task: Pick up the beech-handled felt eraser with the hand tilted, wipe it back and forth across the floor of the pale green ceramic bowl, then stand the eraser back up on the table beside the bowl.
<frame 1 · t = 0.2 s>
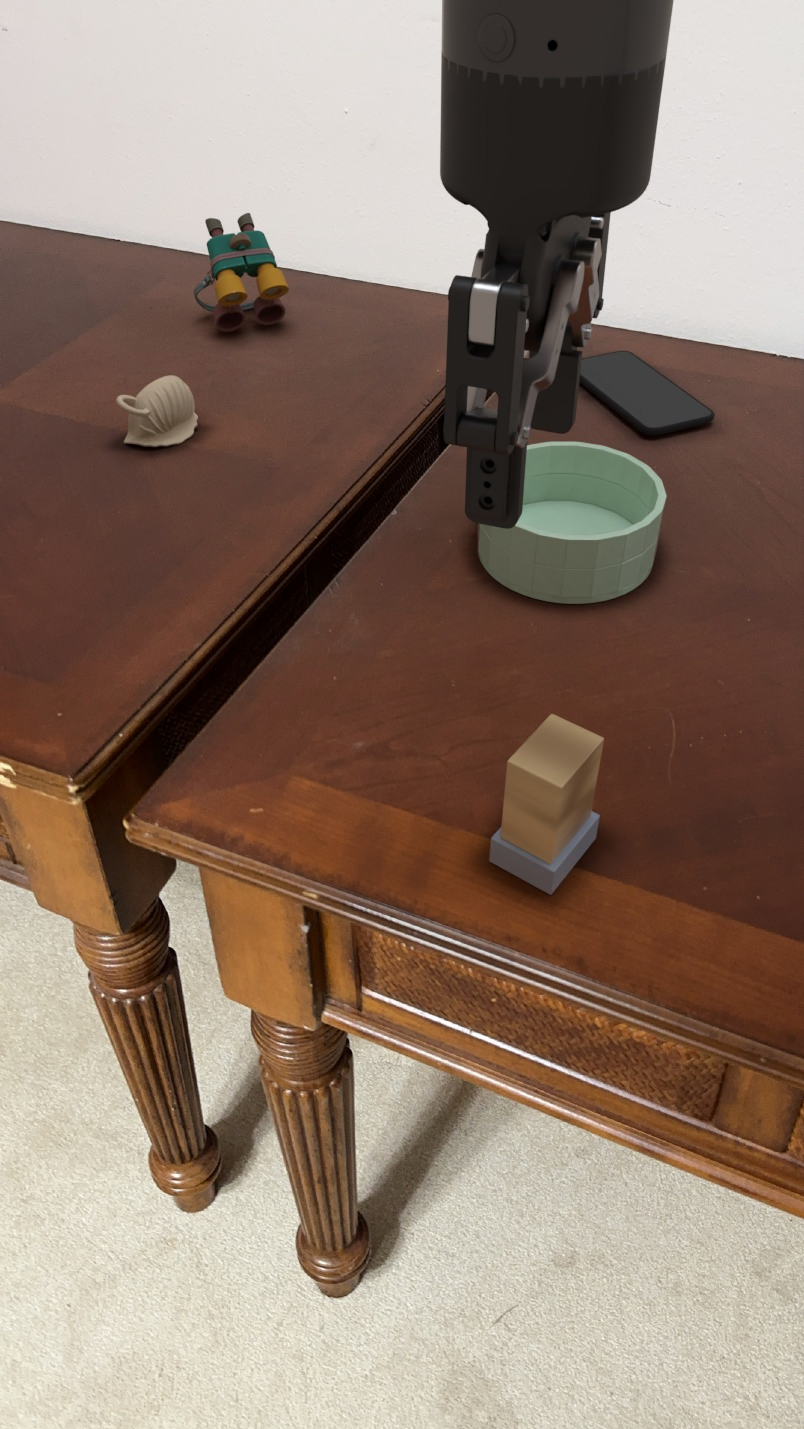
hand: (523, 471, 48), 23 cm above the table, tool pointing down, fingers open, 8 cm apart
bowl: (565, 550, 83), on the table
binoculars: (248, 327, 112), on the table
decorative ornament: (161, 438, 96), on the table
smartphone: (636, 397, 101), on the table
eraser: (543, 849, 62), on the table
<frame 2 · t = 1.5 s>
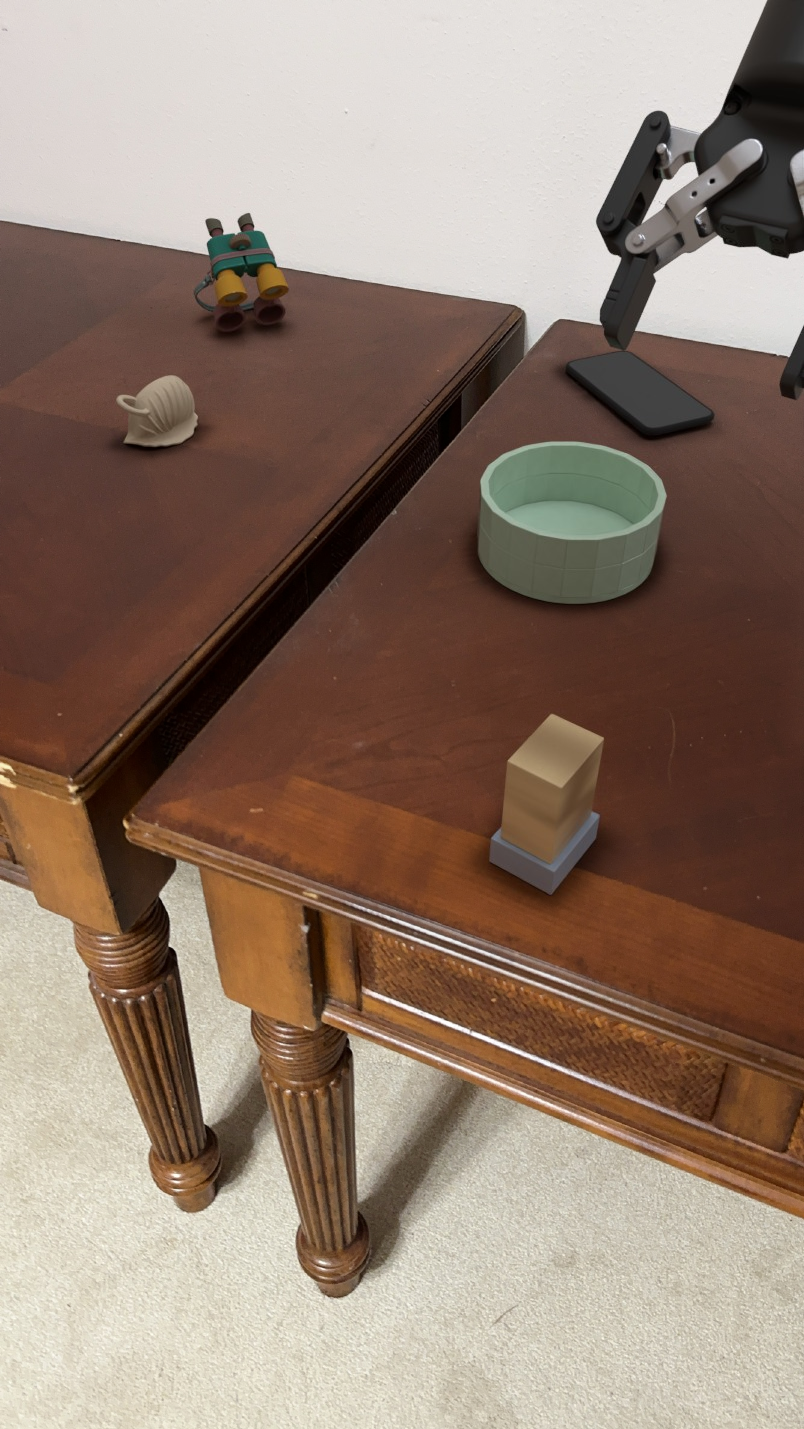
hand: (698, 367, 51), 25 cm above the table, tool tilted 45°, fingers open, 8 cm apart
nothing on the table moved.
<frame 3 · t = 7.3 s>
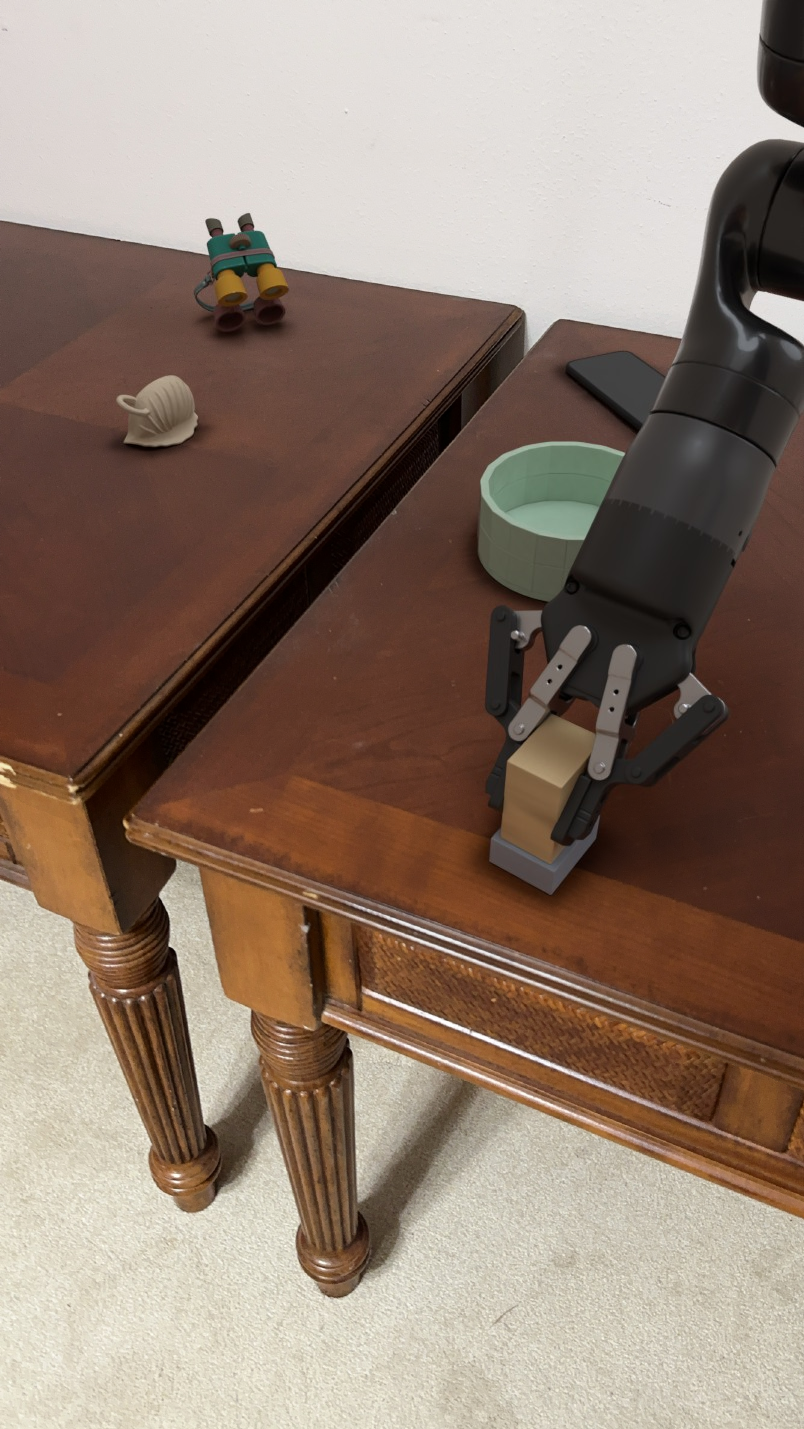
hand: (530, 825, 58), 4 cm above the table, tool tilted 45°, fingers closed on eraser, 3 cm apart
eraser: (543, 850, 62), on the table, touching gripper
everything else where it was.
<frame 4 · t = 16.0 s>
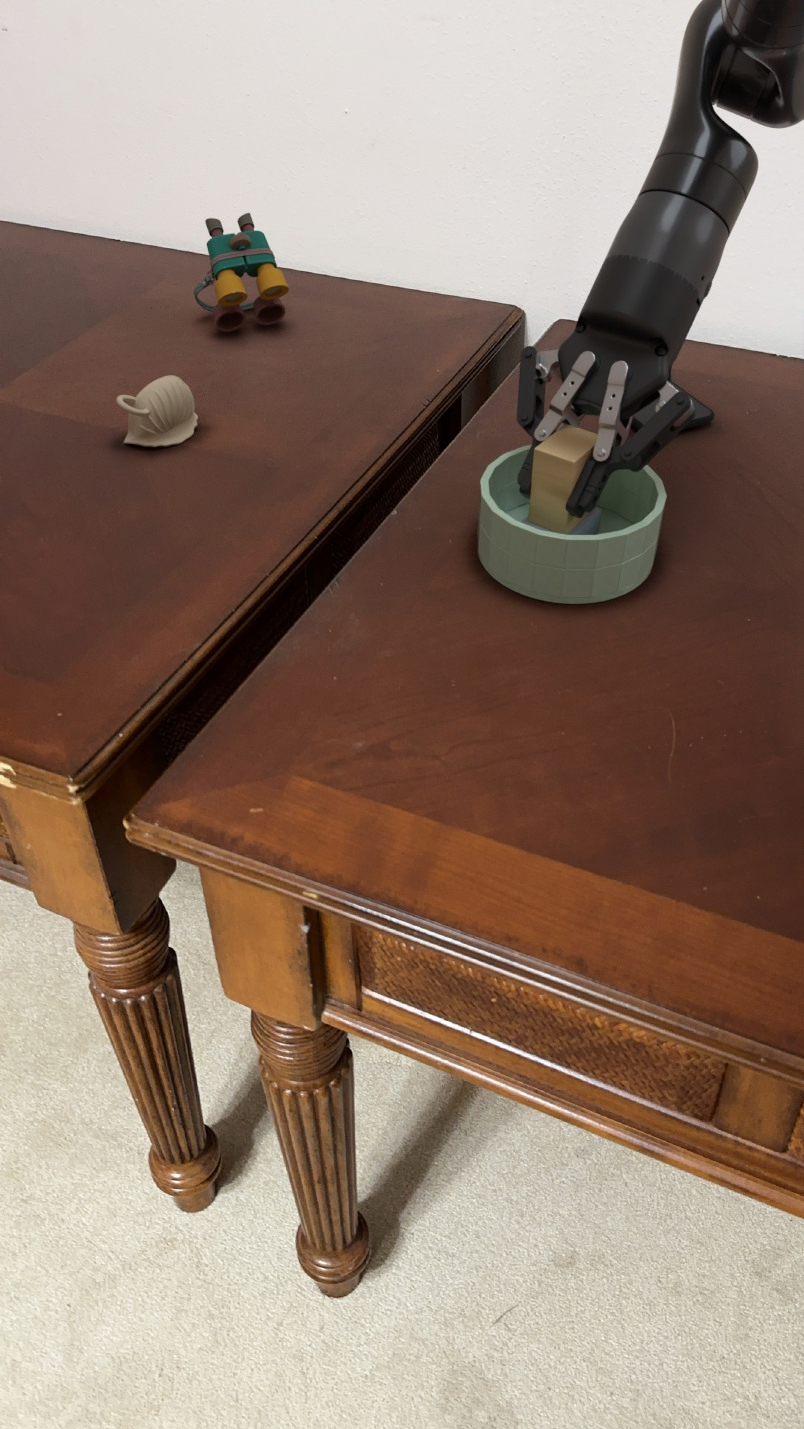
hand: (550, 504, 79), 5 cm above the table, tool tilted 45°, fingers closed on eraser, 3 cm apart
eraser: (559, 538, 82), point 1 cm above the table, touching gripper
everything else where it was.
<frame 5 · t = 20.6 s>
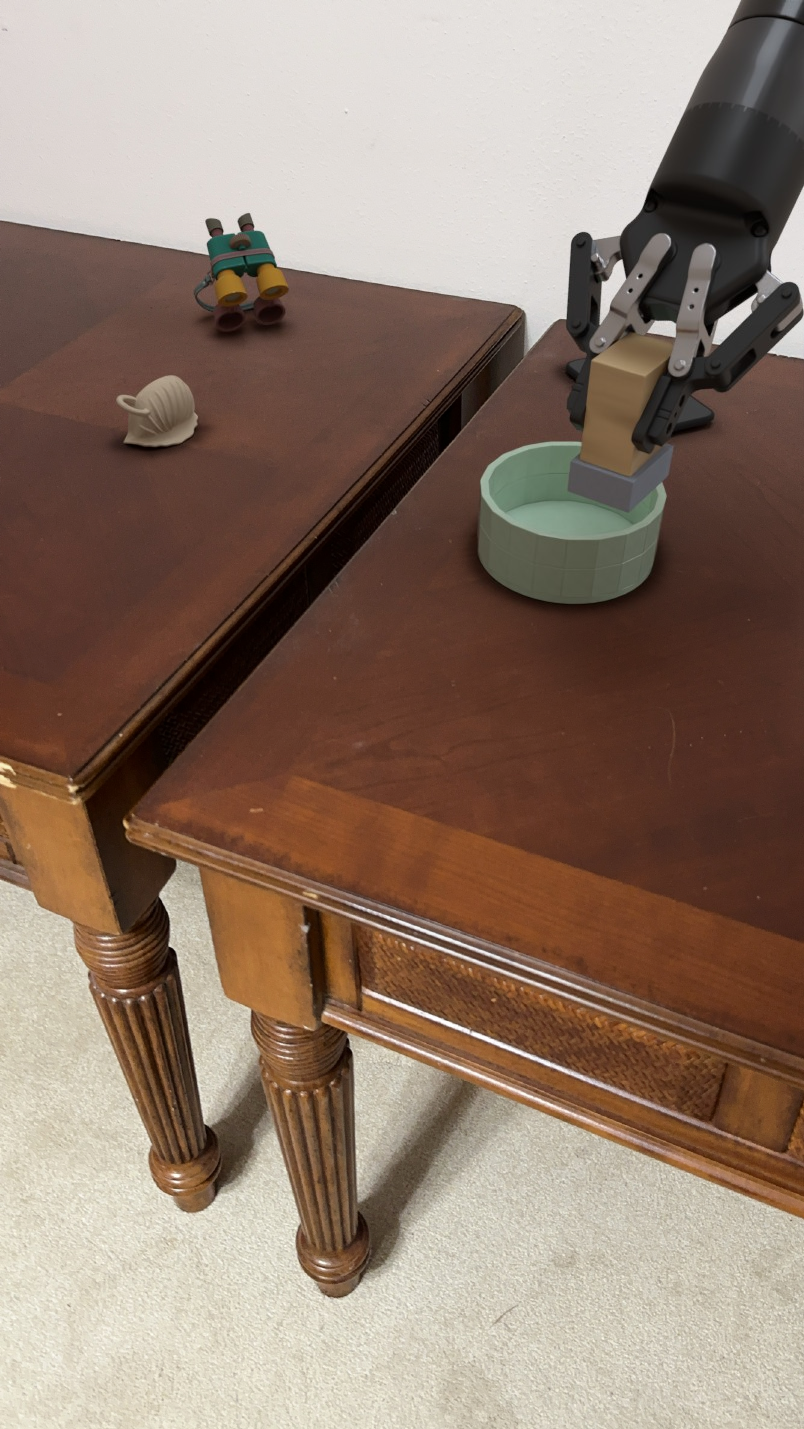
hand: (610, 435, 60), 18 cm above the table, tool tilted 45°, fingers closed on eraser, 3 cm apart
eraser: (618, 483, 64), point 14 cm above the table, touching gripper
everything else where it was.
when the fingers open (4 cm above the table, at t = 24.7 s): eraser stays where it is, on the table.
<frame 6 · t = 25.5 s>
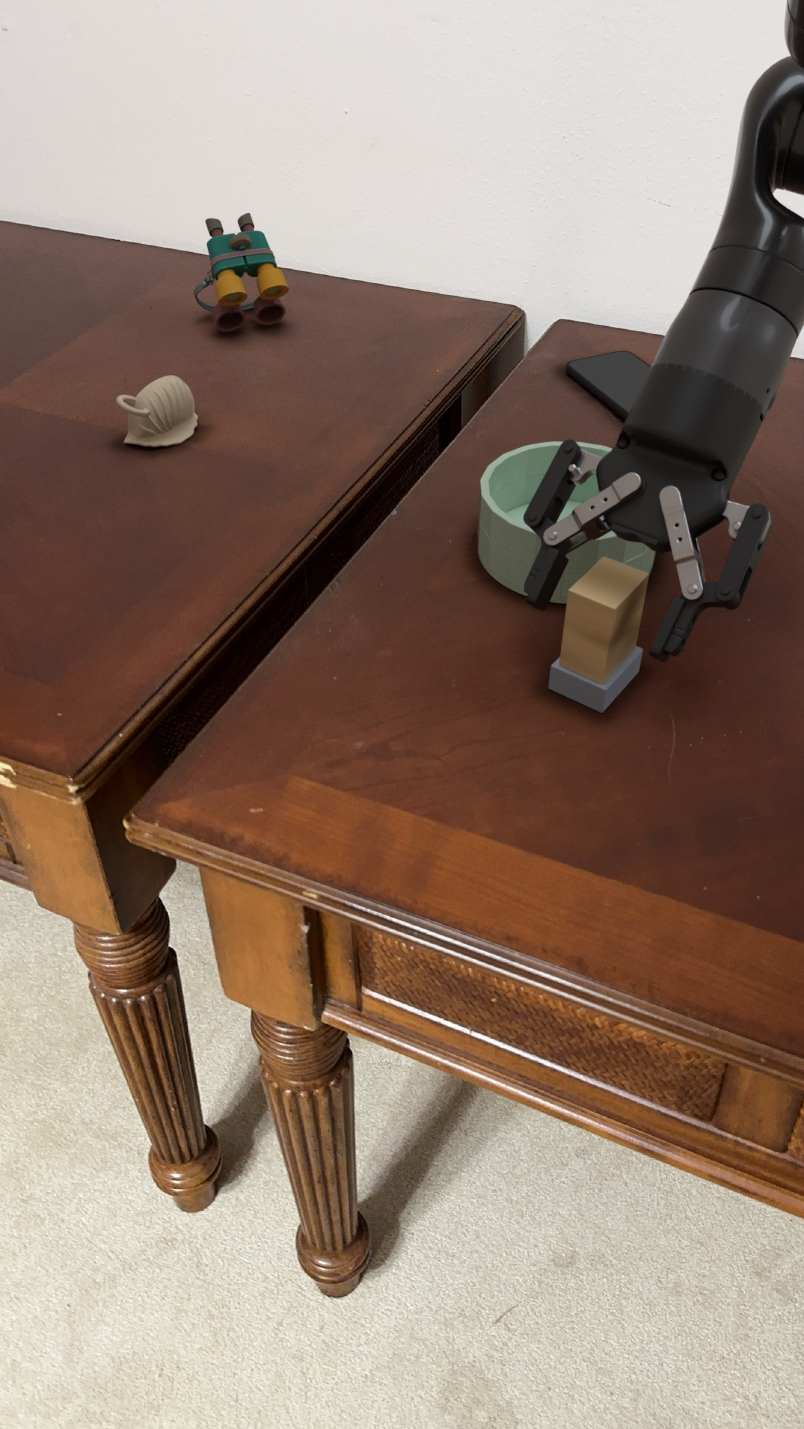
hand: (594, 632, 68), 5 cm above the table, tool tilted 45°, fingers open, 8 cm apart
eraser: (593, 680, 72), on the table
everything else where it was.
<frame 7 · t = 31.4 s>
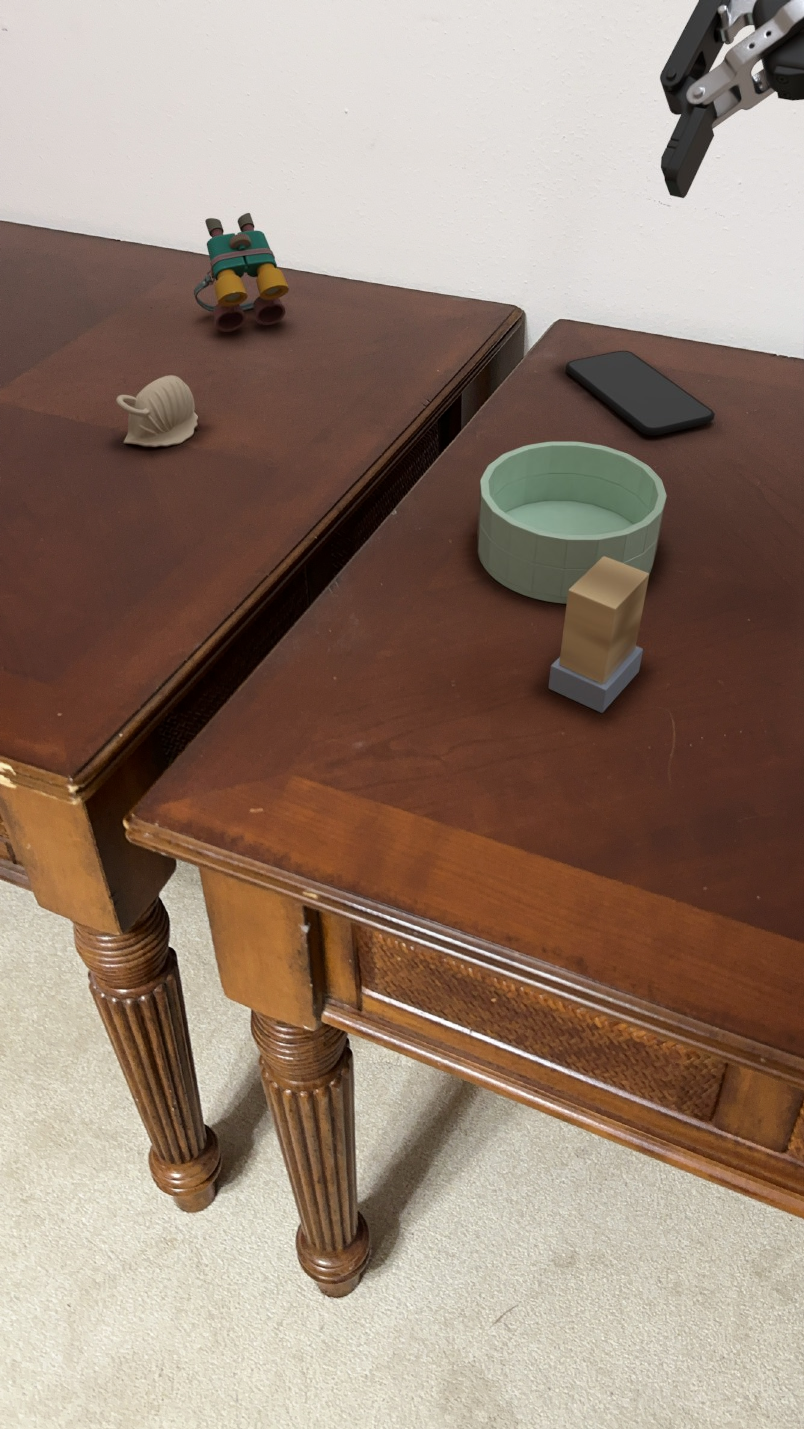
hand: (751, 206, 55), 29 cm above the table, tool tilted 45°, fingers open, 8 cm apart
nothing on the table moved.
at the end: eraser inside the target area on the table beside the bowl (0.1 cm from its centre), on the table; eraser tilted 0°; the gripper is holding nothing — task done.
